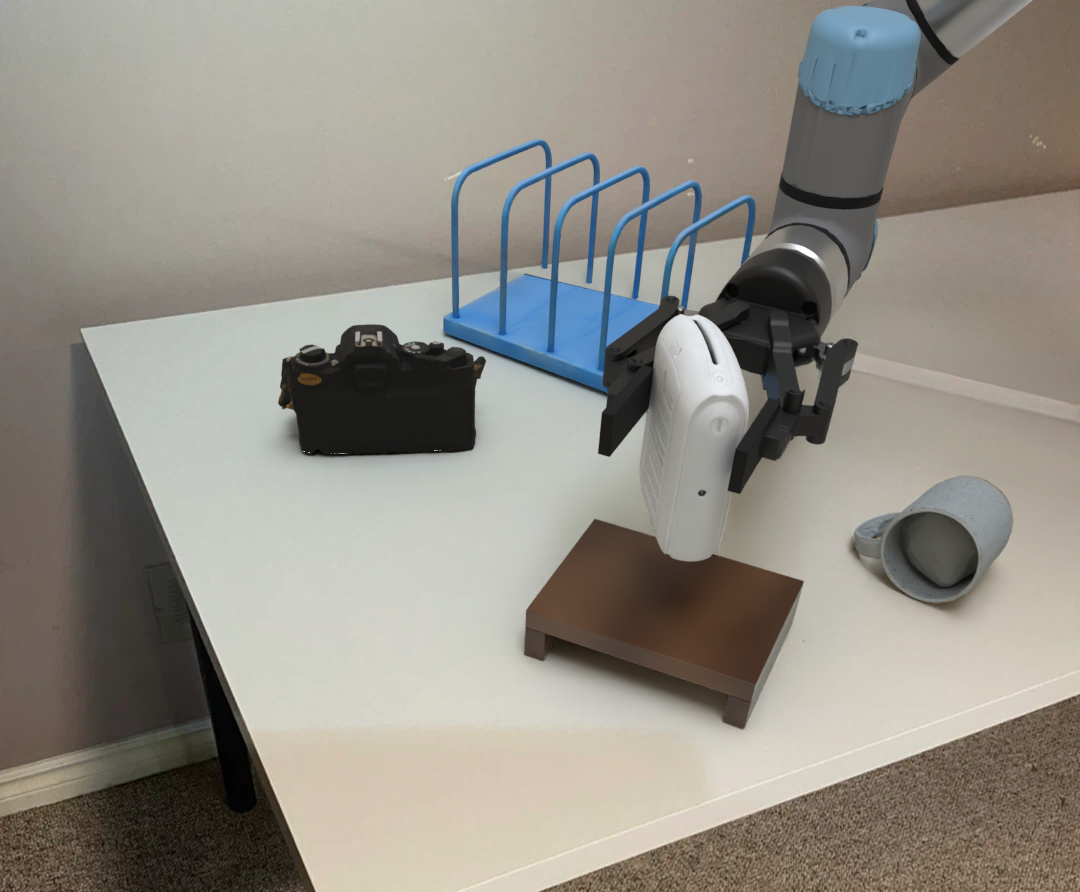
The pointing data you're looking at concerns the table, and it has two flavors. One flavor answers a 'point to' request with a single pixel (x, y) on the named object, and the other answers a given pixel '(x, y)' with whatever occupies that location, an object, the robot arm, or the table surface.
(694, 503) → the photo printer
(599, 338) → the file sorter
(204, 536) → the table surface
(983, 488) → the ceramic mug
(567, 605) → the shelf
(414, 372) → the film camera
